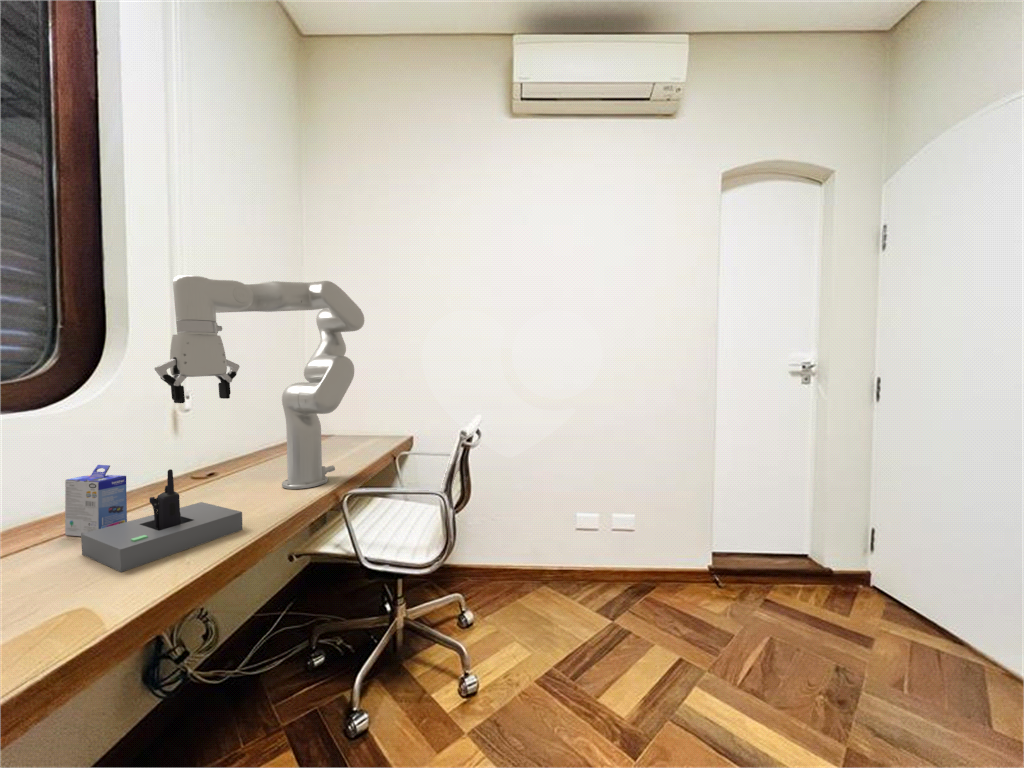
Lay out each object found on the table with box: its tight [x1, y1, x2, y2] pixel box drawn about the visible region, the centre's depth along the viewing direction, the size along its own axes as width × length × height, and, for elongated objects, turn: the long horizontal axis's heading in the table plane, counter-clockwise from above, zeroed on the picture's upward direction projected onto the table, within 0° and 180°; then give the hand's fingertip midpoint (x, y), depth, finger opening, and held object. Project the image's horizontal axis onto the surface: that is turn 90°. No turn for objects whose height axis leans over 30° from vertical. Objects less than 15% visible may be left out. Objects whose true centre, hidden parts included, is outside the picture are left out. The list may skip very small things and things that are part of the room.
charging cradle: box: [80, 501, 244, 573], centre depth 80 cm, size 20×16×4 cm
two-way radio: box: [149, 469, 181, 531], centre depth 79 cm, size 6×4×15 cm
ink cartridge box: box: [64, 464, 128, 537], centre depth 85 cm, size 10×6×14 cm, turn 78°
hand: (203, 400), depth 94 cm, fingers open, 9 cm apart
